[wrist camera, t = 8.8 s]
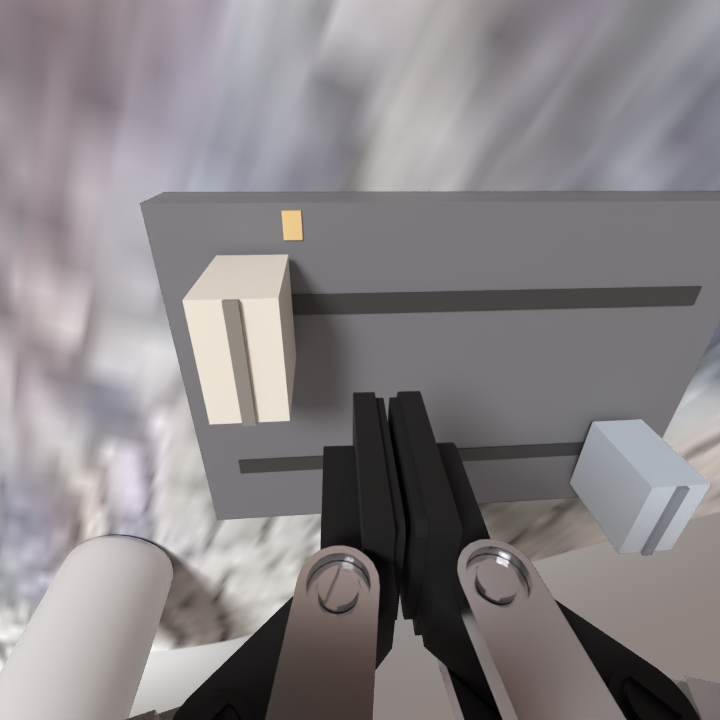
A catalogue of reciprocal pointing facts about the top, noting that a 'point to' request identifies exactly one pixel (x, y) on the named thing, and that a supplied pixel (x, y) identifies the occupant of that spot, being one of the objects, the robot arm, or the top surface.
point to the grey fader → (636, 486)
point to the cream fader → (244, 338)
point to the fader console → (453, 324)
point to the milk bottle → (89, 634)
